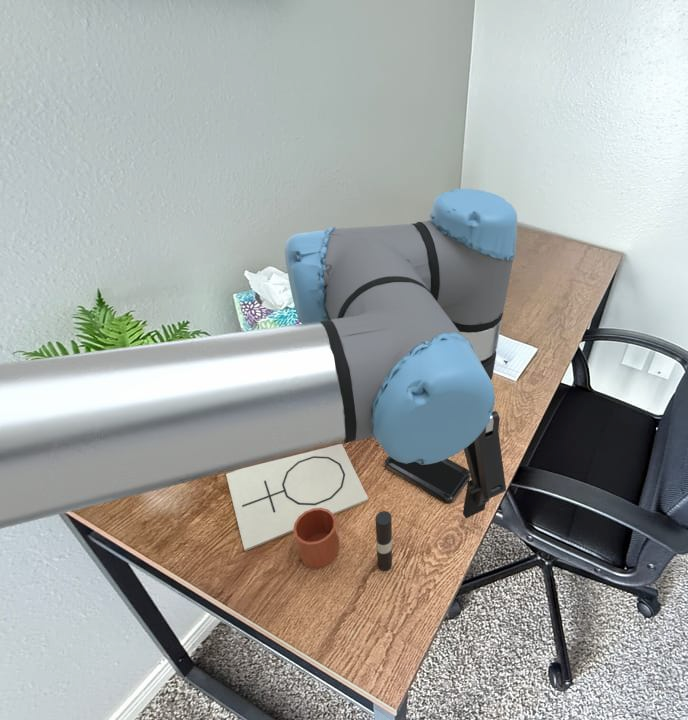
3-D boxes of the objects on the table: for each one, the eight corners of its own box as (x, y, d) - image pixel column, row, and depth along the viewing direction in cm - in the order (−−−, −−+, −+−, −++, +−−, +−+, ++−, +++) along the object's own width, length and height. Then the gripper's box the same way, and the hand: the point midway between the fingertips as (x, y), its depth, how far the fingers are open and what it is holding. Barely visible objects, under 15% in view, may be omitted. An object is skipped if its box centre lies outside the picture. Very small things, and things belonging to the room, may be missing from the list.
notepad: (244, 551, 72) (243, 549, 71) (226, 475, 82) (225, 473, 81) (368, 500, 81) (368, 498, 81) (338, 438, 91) (338, 435, 91)
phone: (450, 501, 81) (382, 462, 86) (449, 505, 82) (382, 466, 87) (473, 471, 87) (408, 436, 92) (472, 475, 88) (408, 440, 92)
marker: (380, 574, 71) (378, 527, 63) (375, 561, 73) (372, 514, 65) (394, 567, 72) (394, 520, 64) (388, 555, 74) (388, 508, 66)
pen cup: (305, 575, 70) (299, 551, 66) (295, 542, 74) (288, 517, 69) (344, 557, 73) (341, 533, 68) (332, 526, 76) (328, 501, 72)
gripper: (564, 411, 42) (524, 536, 56) (438, 282, 58) (430, 403, 71) (496, 438, 39) (471, 564, 52) (381, 293, 55) (384, 419, 68)
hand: (447, 472), depth 62 cm, fingers open, 13 cm apart
